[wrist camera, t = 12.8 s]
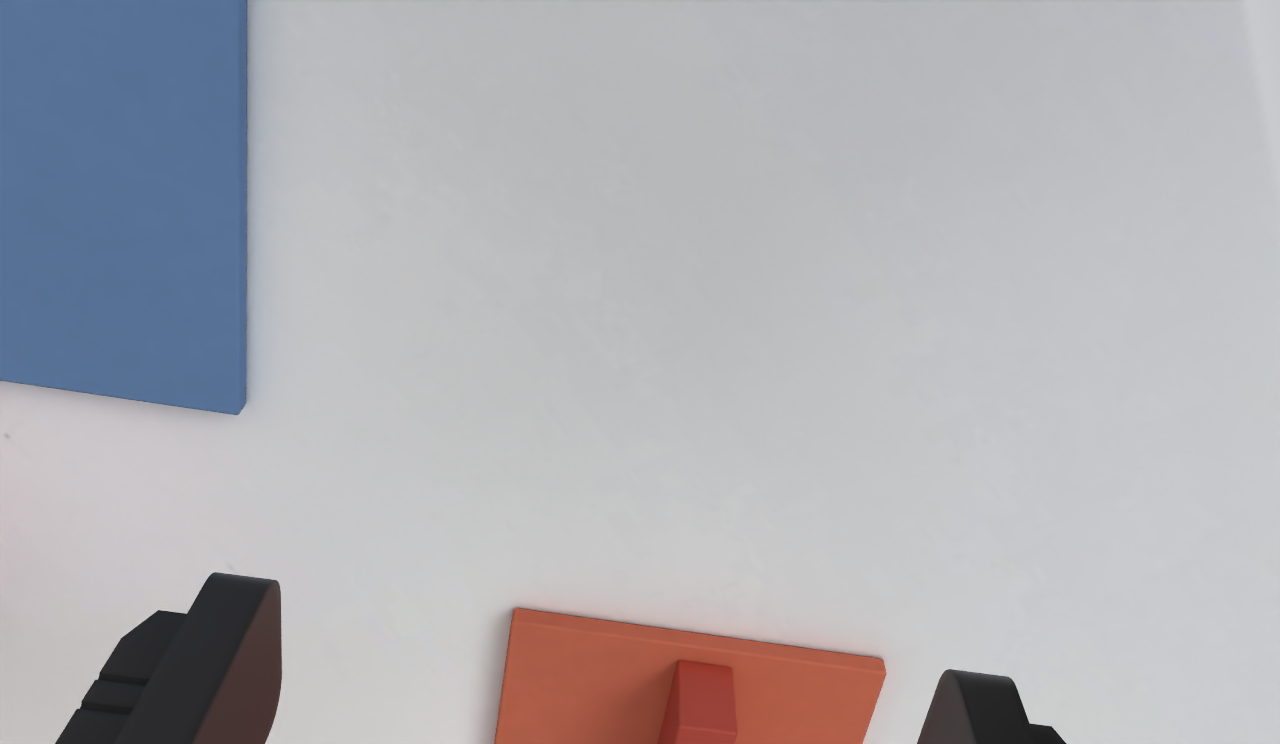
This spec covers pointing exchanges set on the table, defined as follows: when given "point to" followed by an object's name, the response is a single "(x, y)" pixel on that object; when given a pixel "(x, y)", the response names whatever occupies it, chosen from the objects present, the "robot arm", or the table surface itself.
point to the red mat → (642, 678)
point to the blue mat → (124, 199)
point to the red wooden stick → (700, 706)
